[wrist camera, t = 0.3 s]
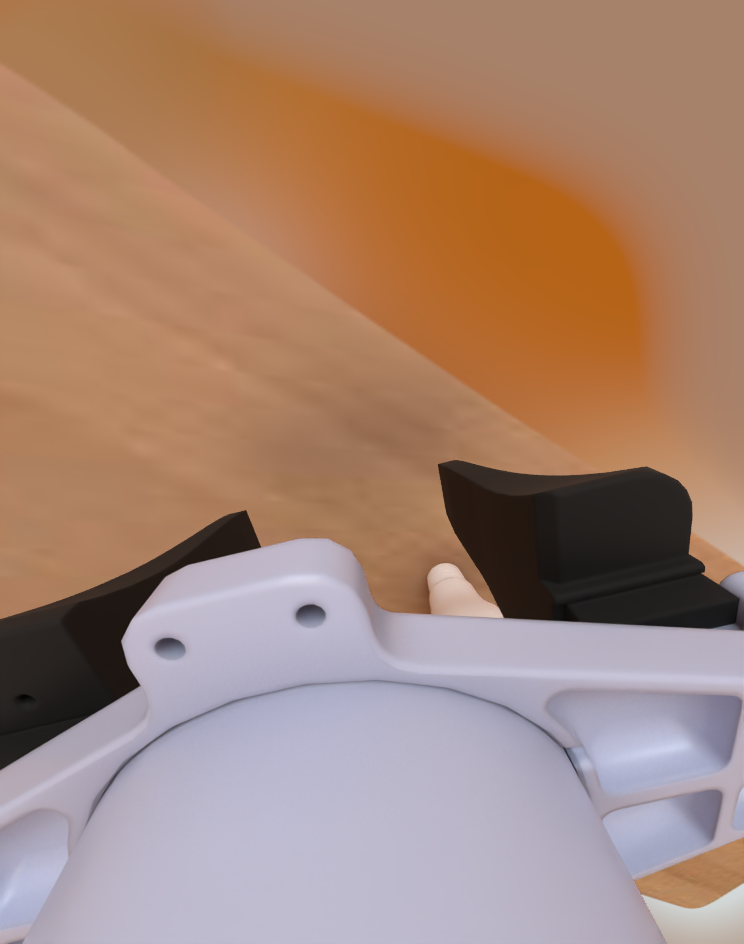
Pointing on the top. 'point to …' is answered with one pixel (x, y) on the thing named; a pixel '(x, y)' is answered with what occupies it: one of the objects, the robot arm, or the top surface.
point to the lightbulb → (456, 594)
